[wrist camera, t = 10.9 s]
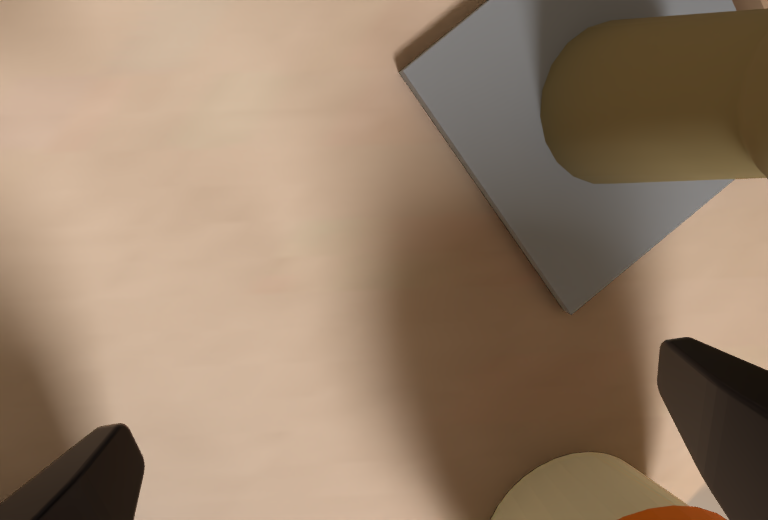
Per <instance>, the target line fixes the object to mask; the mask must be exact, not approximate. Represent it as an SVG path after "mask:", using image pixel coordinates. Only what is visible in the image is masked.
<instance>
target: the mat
mask: <svg viewBox="0 0 768 520" xmlns="http://www.w3.org/2000/svg"><path fill="white" fill-rule="evenodd" d="M727 11H736V8H735V6H734V4H733V1H732V0H487V1H486V2H484V3H483V4H482V5H481V6H480V7H478V8H477V9H476V10H475V11H473V12H472V13H471V14H470V15H469V16H467V17H466V18H465V19H464V20H462V21H461V22H460V23H459V24H457V25H456V26H455V27H454V28H453V29H451V30H450V31H449V32H448V33H446V34H445V35H444V36H443V37H442V38H440V39H439V40H438V41H437V42H435V43H434V44H433V45H432V46H430V47H429V48H428V49H427V50H426V51H424V52H423V53H422V54H421V55H419V56H418V57H417V58H416V59H415V60H413V61H412V62H411V63H410V64H408V65H407V66H406V67H405V68H403V69H402V70H401V71H400V72H399V74H400V75H401V76H402V78H403V79H404V81H405V82H406V84H407V85H408V86H409V88H410V89H411V91H412V92H413V94H414V95H415V97H416V98H417V99H418V101H419V102H420V104H421V105H422V107H423V108H424V110H425V111H426V112H427V114H428V115H429V117H430V118H431V120H432V121H433V123H434V124H435V125H436V127H437V128H438V130H439V131H440V133H441V134H442V135H443V137H444V138H445V140H446V141H447V143H448V144H449V146H450V147H451V148H452V150H453V151H454V153H455V154H456V156H457V157H458V159H459V160H460V161H461V163H462V164H463V166H464V167H465V169H466V170H467V172H468V173H469V174H470V176H471V177H472V179H473V180H474V182H475V183H476V185H477V186H478V187H479V189H480V190H481V192H482V193H483V195H484V196H485V197H486V199H487V200H488V202H489V203H490V205H491V206H492V208H493V209H494V210H495V212H496V213H497V215H498V216H499V218H500V219H501V221H502V222H503V223H504V225H505V226H506V228H507V229H508V231H509V232H510V234H511V235H512V236H513V238H514V239H515V241H516V242H517V244H518V245H519V246H520V248H521V249H522V251H523V252H524V254H525V255H526V257H527V258H528V259H529V261H530V262H531V264H532V265H533V267H534V268H535V270H536V271H537V272H538V274H539V275H540V277H541V278H542V280H543V281H544V283H545V284H546V285H547V287H548V288H549V290H550V291H551V293H552V294H553V296H554V297H555V298H556V300H557V301H558V303H559V304H560V306H561V307H562V308H563V310H564V311H566V312H567V313H569V314H571V315H572V314H573V313H574V312H576V311H577V310H578V309H579V308H580V307H582V306H583V305H584V304H585V303H586V302H588V301H589V300H590V299H591V298H592V297H594V296H595V295H596V294H597V293H598V292H600V291H601V290H602V289H603V288H604V287H606V286H607V285H608V284H609V283H610V282H612V281H613V280H614V279H615V278H616V277H618V276H619V275H620V274H621V273H622V272H624V271H625V270H626V269H627V268H629V267H630V266H631V265H632V264H633V263H635V262H636V261H637V260H638V259H639V258H641V257H642V256H643V255H644V254H645V253H647V252H648V251H649V250H650V249H651V248H653V247H654V246H655V245H656V244H657V243H659V242H660V241H661V240H662V239H663V238H665V237H666V236H667V235H668V234H669V233H671V232H672V231H673V230H674V229H675V228H677V227H678V226H679V225H680V224H681V223H683V222H684V221H685V220H686V219H688V218H689V217H690V216H691V215H692V214H694V213H695V212H696V211H697V210H698V209H700V208H701V207H702V206H703V205H704V204H706V203H707V202H708V201H709V200H710V199H712V198H713V197H714V196H715V195H716V194H718V193H719V192H720V191H721V190H722V189H724V188H725V187H726V186H727V185H728V184H730V183H731V182H732V181H733V180H734V179H722V180H696V181H670V182H644V183H618V184H592V183H590V182H587V181H584V180H581V179H579V178H576V177H573V176H572V175H571V174H570V173H569V172H568V171H566V170H565V169H564V168H563V167H562V166H561V165H560V164H558V163H557V162H556V160H555V158H554V156H553V154H552V153H551V151H550V149H549V147H548V146H547V144H546V142H545V138H544V133H543V128H542V123H541V119H540V112H541V100H542V90H543V87H544V84H545V81H546V79H547V76H548V73H549V71H550V68H551V65H552V64H553V62H554V61H555V59H556V58H557V57H558V55H559V54H560V53H561V51H562V50H563V48H564V47H565V46H566V44H567V43H568V42H569V41H571V40H572V39H573V38H575V37H576V36H577V35H579V34H580V33H581V32H583V31H584V30H585V29H587V28H588V27H591V26H595V25H598V24H601V23H604V22H607V21H610V20H622V19H635V18H648V17H661V16H674V15H688V14H701V13H714V12H727Z"/></svg>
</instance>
